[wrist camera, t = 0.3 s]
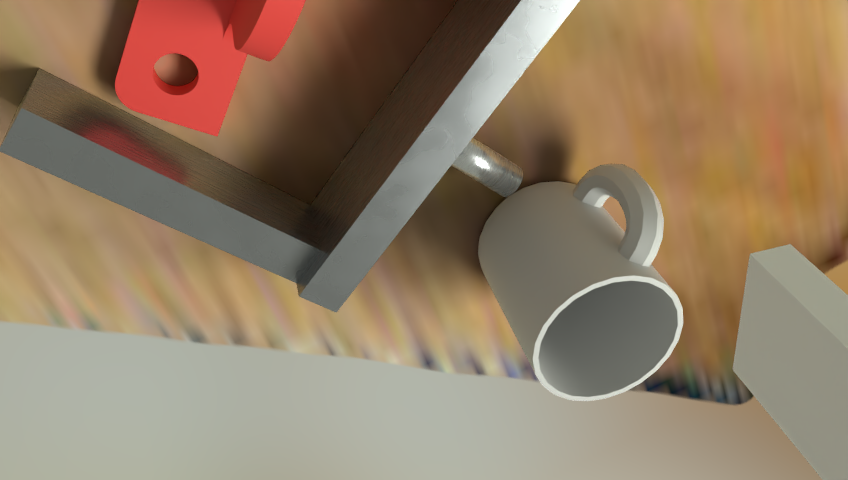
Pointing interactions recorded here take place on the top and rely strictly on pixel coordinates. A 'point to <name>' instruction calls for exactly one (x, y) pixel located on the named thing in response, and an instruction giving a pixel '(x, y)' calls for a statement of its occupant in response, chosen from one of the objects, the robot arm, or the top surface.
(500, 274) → the cup
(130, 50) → the bracket
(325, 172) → the top surface
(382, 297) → the top surface
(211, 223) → the grey u-shaped frame
